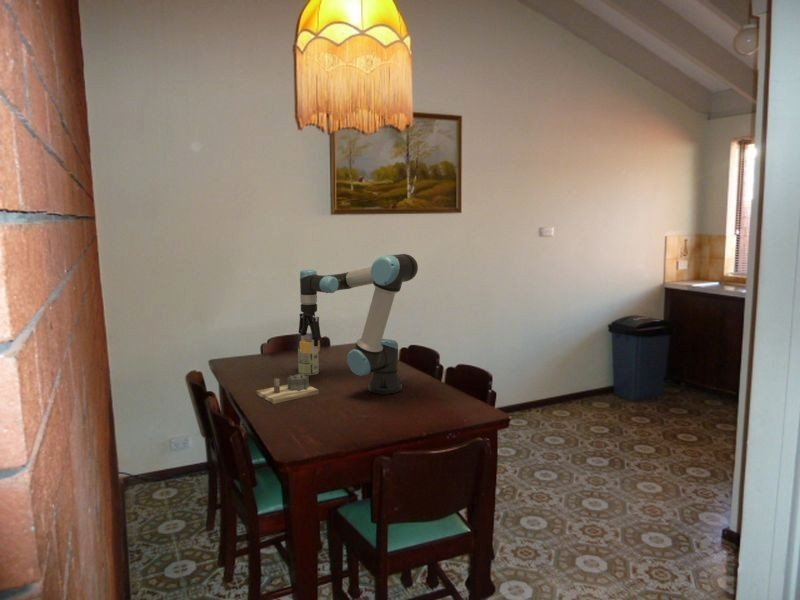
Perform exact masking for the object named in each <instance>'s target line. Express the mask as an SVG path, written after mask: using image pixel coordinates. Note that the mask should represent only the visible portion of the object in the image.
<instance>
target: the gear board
mask: <svg viewBox="0 0 800 600" xmlns="http://www.w3.org/2000/svg"><path fill="white" fill-rule="evenodd" d="M309 378H310V375H300V374H299V373H298V374H297V373H296V374H294V375H288V377H287V378H286V379H287V380H286V381H287V384H282V385H280V384H281V383H280V378H274V379H273V386H272V387H267V388H262V389H258V390H256V395H257V396H258V397H261V398H262V399H264V400H266V401H268V402H270V403H272V404H273V405H275V404H278V403H283V402H288V401H292V400H296V399H297V400H298V399H301V398H306V397H312V396H315V395H319V394H320V391H319V388H316V387H313V386H311V385H310V379H309Z"/></svg>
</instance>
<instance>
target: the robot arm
mask: <svg viewBox="0 0 800 600" xmlns="http://www.w3.org/2000/svg"><path fill="white" fill-rule="evenodd" d="M418 270H419V265H418V262H417V260H416V259H415V257H413V256H412V255H410V254H407V253H399V254H385V255H382V256H379V257H377V258H376V259H375V260H374V261H373V262H372V265H371V266H370V267H364V268H361V269H356V270H352V271H348V272H347V271H346V272H343V273H337V274H328V275H327V274H326V275H325V274H324V275H322V274H321V275H318V273H317V270H316V269H301V271H300V272H299V285H300V287H299V288H300V289H299V290H300V294H299V295H300V298H299V299H300V312H301V313H299V323H298V324H299V325H298V334H299V335H300V337H301V339H300V340H308V333H307V332H308V329H310V332H311V335H312V336H311V337H312V338H311V339H312V353H318V354H319V351H318V340H319V339H321V338H322V337H321V336H322V335H321V330H320V328H321V327H320V321H319V320H320V317H319V316H316V312H318V304H317V302H318V292H319V293H325V294H334V293H335V292H337V291H342V290H343V291H345V290H350V289H354V288H358V287H363V286H368V285H372V286H374V291H373V295H372V299H371V302H370V306H369V309H368V313H367V317H366V321H365V324H364V327H363V330H362V331H363V332H362V333H361V335H362V336H361V337H360V338H358V339H357V340H356V343H355V347H354V348H353V349H351V350H349V352H348V353H347V357H346V363H347V365H348V367H349V369H350V371H351V372H352V373H353V374H355V375H357V376H367V375H369V374H371V376H370V379H369V382H368V391H369V392H371V393H373V394H377V393H378V395H391V394H390V393H393V394H397V393H400V392H401V391H402V390H403V385H402V380H401V378H400V374H399V343H398V341H396V340H393V339H389V338H383V337H384V333H385V330H386V326H387V325H388V324H387V323H388V320H389V317H390V312H391V310H392V306H393V302H394V299H395V295H396V294H397V293H399V292H400V291H401V288H402V284H403V283H404V282H409V281H411V280H413V279H414V278H415V277H416V276H417V274H418ZM401 389H402V390H401ZM399 391H400V392H399ZM396 392H397V393H396Z"/></svg>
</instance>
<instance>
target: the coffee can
mask: <svg viewBox="0 0 800 600" xmlns="http://www.w3.org/2000/svg"><path fill="white" fill-rule="evenodd" d="M297 361H298V362H297V363H298V365H297V366H298V374H300V375H305V376H314V375H317V374H319V372H320V371H319V369H320V368H319V367H320V366H319V365H320V364H319V363H320V362H319V352H318V353H312V354H310V353H305V354H303V352H300V343H299V344H298V345H297Z"/></svg>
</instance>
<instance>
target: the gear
mask: <svg viewBox="0 0 800 600" xmlns="http://www.w3.org/2000/svg"><path fill="white" fill-rule="evenodd" d="M320 341H321V340H319V339H318V352H320V351H321V342H320ZM299 344H300V352H303V354H305V353H310V354H312V338H311V339H310V338H307V340H302V339H300V341H299Z"/></svg>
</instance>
